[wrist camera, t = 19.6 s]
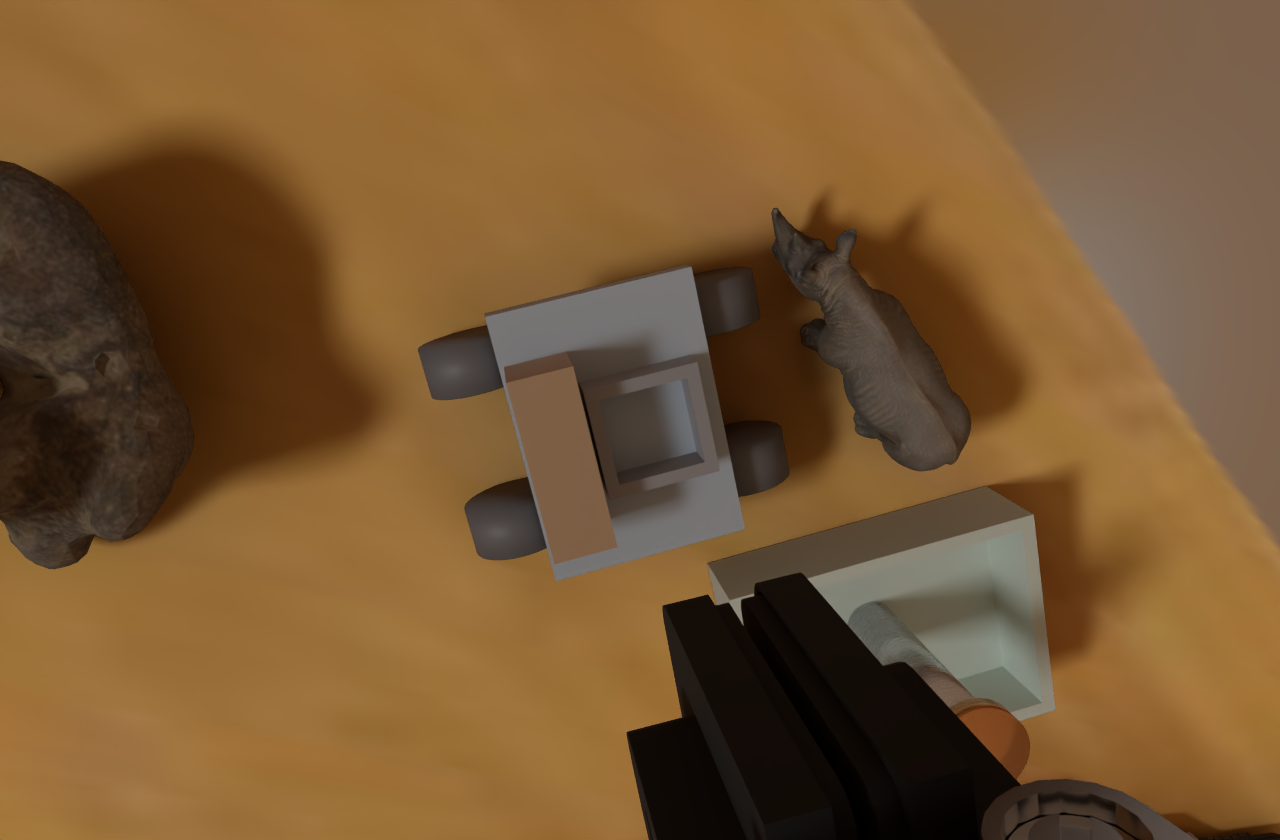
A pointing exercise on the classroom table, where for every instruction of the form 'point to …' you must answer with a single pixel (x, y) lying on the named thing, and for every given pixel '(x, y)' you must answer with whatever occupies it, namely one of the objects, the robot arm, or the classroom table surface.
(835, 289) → the rhino figurine
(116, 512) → the decorative stone
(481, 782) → the classroom table surface
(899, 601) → the tray
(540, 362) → the trolley
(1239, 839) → the walkie-talkie
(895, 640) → the pin
